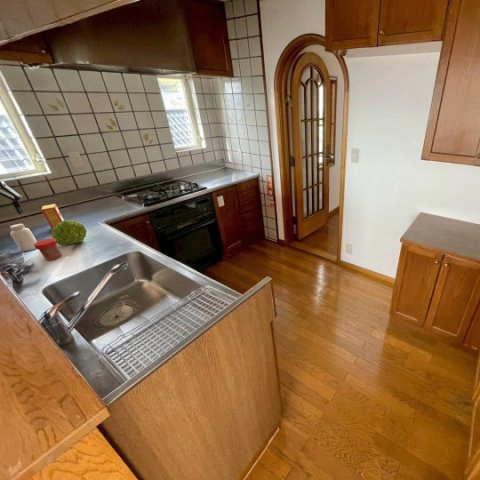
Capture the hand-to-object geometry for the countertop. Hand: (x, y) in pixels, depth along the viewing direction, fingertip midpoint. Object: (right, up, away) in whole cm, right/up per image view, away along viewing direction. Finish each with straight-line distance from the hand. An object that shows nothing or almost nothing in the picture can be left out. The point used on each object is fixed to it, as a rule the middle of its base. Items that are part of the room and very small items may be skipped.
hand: (3, 215), depth 131 cm
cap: (+14, -13, +7) cm, 20 cm away
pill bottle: (-15, -17, +26) cm, 34 cm away
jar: (+14, -23, +12) cm, 30 cm away
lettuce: (+6, -13, +32) cm, 35 cm away
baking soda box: (-23, -4, +52) cm, 57 cm away
